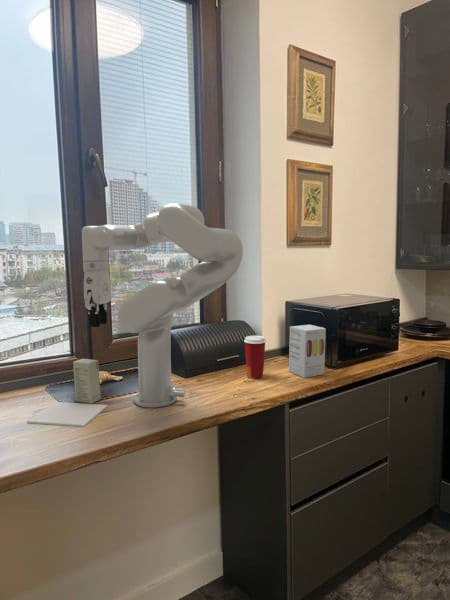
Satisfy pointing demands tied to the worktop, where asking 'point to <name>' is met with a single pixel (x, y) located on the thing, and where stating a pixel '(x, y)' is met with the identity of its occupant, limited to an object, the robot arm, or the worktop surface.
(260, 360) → the paper cup
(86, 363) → the skincare box
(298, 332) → the supplement box
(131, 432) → the worktop surface
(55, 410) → the mat
